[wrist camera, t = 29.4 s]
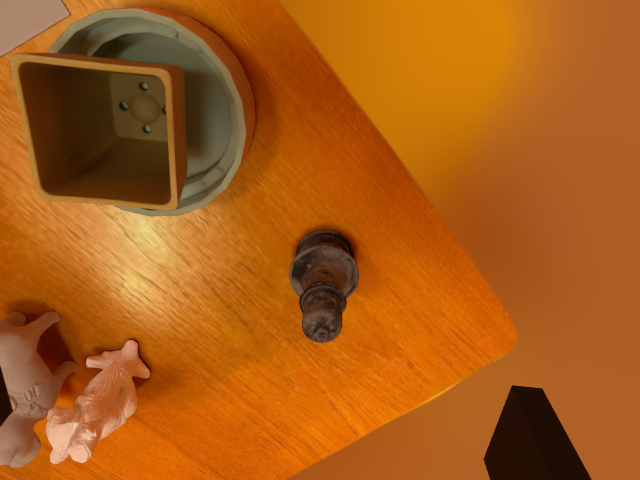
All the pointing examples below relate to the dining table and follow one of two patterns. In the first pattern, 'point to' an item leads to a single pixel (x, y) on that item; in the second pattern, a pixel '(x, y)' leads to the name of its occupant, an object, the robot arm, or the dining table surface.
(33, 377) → the dog figurine
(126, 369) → the pink animal figurine
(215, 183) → the bowl
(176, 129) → the flower pot
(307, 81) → the dining table surface
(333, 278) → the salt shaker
